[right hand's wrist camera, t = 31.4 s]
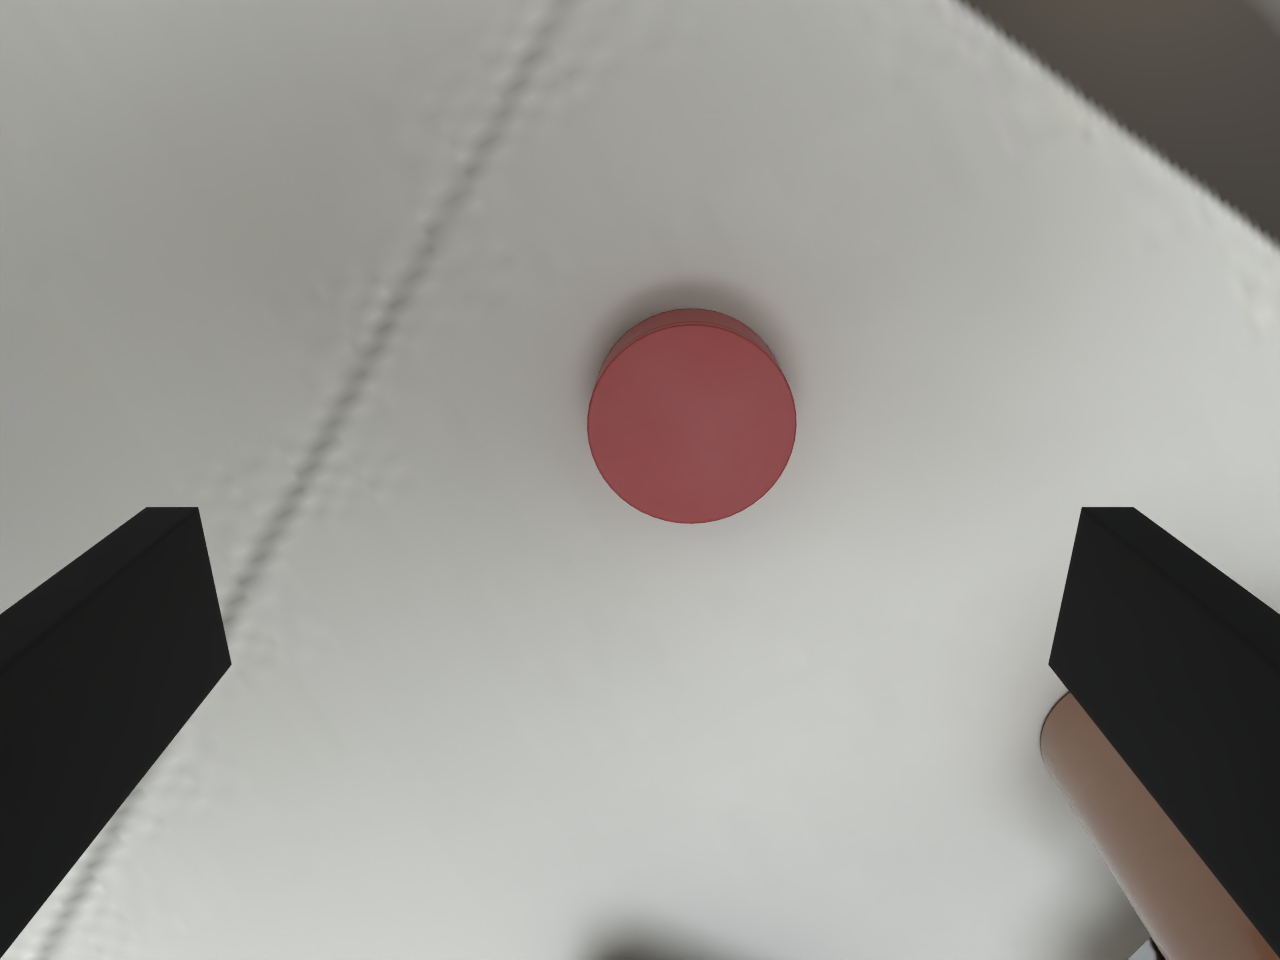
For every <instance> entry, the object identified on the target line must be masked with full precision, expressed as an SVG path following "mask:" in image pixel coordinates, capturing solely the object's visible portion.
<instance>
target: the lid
mask: <svg viewBox="0 0 1280 960" xmlns="http://www.w3.org/2000/svg"><path fill="white" fill-rule="evenodd" d="M587 431H588V440H589V445H590V449H591V453H592V456H593V458H594V461H595V463H596V466H597V468H598V470H599V471H600V473H601V475H602V477H603V478H604V480H605V481H606V482H607V483H608V485H609V486H610V487H611V489H612V490H613V491H614V492H615V493H616V494H617V495H618V496H619V497H620V498H622V499H623V500H624V501H626V502H627V503H628V504H629V505H631V506H633V507H634V508H636V509H638V510H639V511H641V512H643V513H645V514H648V515H650V516H652V517H655V518H658V519H662V520H665V521H670V522H676V523H689V524H693V523H706V522H711V521H716V520H720V519H723V518H726V517H729V516H732V515H734V514H736V513H738V512H740V511H742V510H744V509H746V508H747V507H749V506H751V505H752V504H754V503H755V502H756V501H757V500H759V499H760V498H761V497H762V496H764V495H765V494H766V493H767V492H768V491H769V489H770V488H771V487H772V486H773V485H774V484H775V482H776V481H777V480H778V478H779V477H780V476H781V474H782V472H783V470H784V469H785V467H786V465H787V463H788V460H789V458H790V455H791V453H792V449H793V445H794V441H795V434H796V411H795V405H794V400H793V396H792V393H791V390H790V387H789V385H788V383H787V381H786V379H785V377H784V375H783V373H782V371H781V369H780V367H779V365H778V363H777V361H776V359H775V357H774V355H773V354H772V352H771V351H770V349H769V348H768V346H767V345H766V344H765V343H764V341H763V340H762V339H761V338H760V337H759V336H758V335H757V334H756V333H755V332H753V331H752V330H751V329H750V328H749V327H747V326H746V325H744V324H743V323H741V322H740V321H738V320H736V319H734V318H731V317H729V316H727V315H724V314H721V313H718V312H715V311H709V310H704V309H679V310H673V311H668V312H664V313H661V314H658V315H655V316H652V317H650V318H648V319H646V320H644V321H642V322H641V323H639V324H638V325H636V326H635V327H633V328H632V329H630V330H629V331H628V332H627V333H626V334H625V335H624V336H623V337H621V338H620V339H619V341H618V342H617V343H616V344H615V345H614V347H613V348H612V349H611V351H610V352H609V354H608V356H607V357H606V359H605V361H604V363H603V365H602V367H601V370H600V372H599V375H598V378H597V382H596V385H595V388H594V391H593V394H592V397H591V401H590V404H589V410H588V418H587Z"/></svg>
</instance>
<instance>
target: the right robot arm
mask: <svg viewBox="0 0 1280 960" xmlns="http://www.w3.org/2000/svg"><path fill="white" fill-rule="evenodd" d="M231 665H232V664H231V659H230V655H229V650H228V645H227V641H226V636H225V631H224V627H223V622H222V617H221V612H220V608H219V603H218V598H217V594H216V589H215V584H214V580H213V575H212V570H211V565H210V561H209V556H208V551H207V547H206V542H205V537H204V532H203V528H202V523H201V518H200V514H199V509H198V507H146V508H145V509H143V510H142V511H141V512H139V513H138V514H137V515H135V516H134V517H132V518H131V519H130V520H128V521H127V522H126V523H124V524H123V525H122V526H120V527H119V528H117V529H116V530H115V531H113V532H112V533H111V534H109V535H108V536H107V537H105V538H104V539H103V540H101V541H100V542H98V543H97V544H96V545H94V546H93V547H92V548H90V549H89V550H88V551H86V552H85V553H83V554H82V555H81V556H79V557H78V558H77V559H75V560H74V561H73V562H71V563H70V564H68V565H67V566H66V567H64V568H63V569H62V570H60V571H59V572H58V573H56V574H55V575H53V576H52V577H51V578H49V579H48V580H47V581H45V582H44V583H43V584H41V585H40V586H38V587H37V588H36V589H34V590H33V591H32V592H30V593H29V594H28V595H26V596H25V597H23V598H22V599H21V600H19V601H18V602H17V603H15V604H14V605H13V606H11V607H10V608H8V609H7V610H6V611H4V612H3V613H2V614H0V958H1V957H2V956H3V955H4V953H5V952H6V951H7V949H8V948H9V947H10V946H11V944H12V943H13V942H14V941H15V939H16V938H17V937H18V935H19V934H20V933H21V932H22V930H23V929H24V928H25V927H26V925H27V924H28V923H29V921H30V920H31V919H32V918H33V916H34V915H35V914H36V913H37V911H38V910H39V909H40V907H41V906H42V905H43V904H44V902H45V901H46V900H47V899H48V897H49V896H50V895H51V893H52V892H53V891H54V890H55V888H56V887H57V886H58V885H59V883H60V882H61V881H62V879H63V878H64V877H65V876H66V874H67V873H68V872H69V871H70V869H71V868H72V867H73V866H74V864H75V863H76V862H77V860H78V859H79V858H80V857H81V855H82V854H83V853H84V852H85V850H86V849H87V848H88V846H89V845H90V844H91V843H92V841H93V840H94V839H95V838H96V836H97V835H98V834H99V832H100V831H101V830H102V829H103V827H104V826H105V825H106V824H107V822H108V821H109V820H110V818H111V817H112V816H113V815H114V813H115V812H116V811H117V810H118V808H119V807H120V806H121V804H122V803H123V802H124V801H125V799H126V798H127V797H128V796H129V794H130V793H131V792H132V790H133V789H134V788H135V787H136V785H137V784H138V783H139V782H140V780H141V779H142V778H143V777H144V775H145V774H146V773H147V771H148V770H149V769H150V768H151V766H152V765H153V764H154V763H155V761H156V760H157V759H158V757H159V756H160V755H161V754H162V752H163V751H164V750H165V749H166V747H167V746H168V745H169V743H170V742H171V741H172V740H173V738H174V737H175V736H176V735H177V733H178V732H179V731H180V729H181V728H182V727H183V726H184V724H185V723H186V722H187V721H188V719H189V718H190V717H191V715H192V714H193V713H194V712H195V710H196V709H197V708H198V707H199V705H200V704H201V703H202V701H203V700H204V699H205V698H206V696H207V695H208V694H209V693H210V691H211V690H212V689H213V688H214V686H215V685H216V684H217V682H218V681H219V680H220V679H221V677H222V676H223V675H224V674H225V672H226V671H227V670H228V668H229V667H230V666H231ZM1048 665H1049V666H1050V667H1051V668H1052V670H1053V671H1054V672H1055V674H1056V675H1057V676H1058V677H1059V679H1060V680H1061V681H1062V682H1063V684H1064V685H1065V686H1066V688H1067V689H1068V690H1069V691H1070V693H1071V694H1072V695H1073V696H1074V698H1075V699H1076V700H1077V701H1078V703H1079V704H1080V705H1081V707H1082V708H1083V709H1084V710H1085V712H1086V713H1087V714H1088V715H1089V717H1090V718H1091V719H1092V721H1093V722H1094V723H1095V724H1096V726H1097V727H1098V728H1099V729H1100V731H1101V732H1102V733H1103V735H1104V736H1105V737H1106V738H1107V740H1108V741H1109V742H1110V743H1111V745H1112V746H1113V747H1114V749H1115V750H1116V751H1117V752H1118V754H1119V755H1120V756H1121V757H1122V759H1123V760H1124V761H1125V763H1126V764H1127V765H1128V766H1129V768H1130V769H1131V770H1132V771H1133V773H1134V774H1135V775H1136V777H1137V778H1138V779H1139V780H1140V782H1141V783H1142V784H1143V785H1144V787H1145V788H1146V789H1147V790H1148V792H1149V793H1150V794H1151V796H1152V797H1153V798H1154V799H1155V801H1156V802H1157V803H1158V804H1159V806H1160V807H1161V808H1162V810H1163V811H1164V812H1165V813H1166V815H1167V816H1168V817H1169V818H1170V820H1171V821H1172V822H1173V824H1174V825H1175V826H1176V827H1177V829H1178V830H1179V831H1180V832H1181V834H1182V835H1183V836H1184V838H1185V839H1186V840H1187V841H1188V843H1189V844H1190V845H1191V846H1192V848H1193V849H1194V850H1195V852H1196V853H1197V854H1198V855H1199V857H1200V858H1201V859H1202V860H1203V862H1204V863H1205V864H1206V866H1207V867H1208V868H1209V869H1210V871H1211V872H1212V873H1213V874H1214V876H1215V877H1216V878H1217V880H1218V881H1219V882H1220V883H1221V885H1222V886H1223V887H1224V888H1225V890H1226V891H1227V892H1228V893H1229V895H1230V896H1231V897H1232V899H1233V900H1234V901H1235V902H1236V904H1237V905H1238V906H1239V907H1240V909H1241V910H1242V911H1243V913H1244V914H1245V915H1246V916H1247V918H1248V919H1249V920H1250V921H1251V923H1252V924H1253V925H1254V927H1255V928H1256V929H1257V930H1258V932H1259V933H1260V934H1261V935H1262V937H1263V938H1264V939H1265V941H1266V942H1267V943H1268V944H1269V946H1270V947H1271V948H1272V949H1273V951H1274V952H1275V953H1276V955H1277V956H1278V957H1279V958H1280V614H1278V613H1277V612H1276V611H1274V610H1273V609H1272V608H1270V607H1269V606H1267V605H1266V604H1265V603H1263V602H1262V601H1261V600H1259V599H1258V598H1257V597H1255V596H1254V595H1252V594H1251V593H1250V592H1248V591H1247V590H1246V589H1244V588H1243V587H1242V586H1240V585H1239V584H1237V583H1236V582H1235V581H1233V580H1232V579H1231V578H1229V577H1228V576H1227V575H1225V574H1224V573H1222V572H1221V571H1220V570H1218V569H1217V568H1216V567H1214V566H1213V565H1212V564H1210V563H1209V562H1207V561H1206V560H1205V559H1203V558H1202V557H1201V556H1199V555H1198V554H1197V553H1195V552H1194V551H1192V550H1191V549H1190V548H1188V547H1187V546H1186V545H1184V544H1183V543H1182V542H1180V541H1179V540H1177V539H1176V538H1175V537H1173V536H1172V535H1171V534H1169V533H1168V532H1167V531H1165V530H1164V529H1162V528H1161V527H1160V526H1158V525H1157V524H1156V523H1154V522H1153V521H1152V520H1150V519H1149V518H1148V517H1146V516H1145V515H1143V514H1142V513H1141V512H1139V511H1138V510H1137V509H1135V508H1134V507H1082V509H1081V514H1080V518H1079V523H1078V528H1077V532H1076V537H1075V542H1074V547H1073V551H1072V556H1071V561H1070V565H1069V570H1068V575H1067V579H1066V584H1065V589H1064V594H1063V598H1062V603H1061V608H1060V612H1059V617H1058V622H1057V627H1056V631H1055V636H1054V641H1053V645H1052V650H1051V655H1050V659H1049V664H1048Z"/></svg>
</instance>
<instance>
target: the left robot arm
mask: <svg viewBox="0 0 1280 960" xmlns="http://www.w3.org/2000/svg"><path fill="white" fill-rule="evenodd" d="M1128 960H1165V959H1164V957H1163V956H1162V954H1161V952H1160V951H1159V949H1158V947H1157V946H1156V944H1155V943H1154V941H1153V939H1152V938H1151V937H1150V938H1149V939H1148V940H1147V941H1146V942H1145V943H1144V944H1143V945H1142V946H1141V947H1140V948H1139V949H1138V950H1137V951H1136V952H1135V953H1134V954H1133V955H1132V956H1131V957H1130V958H1129V959H1128Z"/></svg>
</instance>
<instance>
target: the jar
mask: <svg viewBox="0 0 1280 960" xmlns="http://www.w3.org/2000/svg"><path fill="white" fill-rule="evenodd" d="M1041 753H1042V757H1043V760H1044V762H1045V765H1046V766H1047V768H1048V770H1049V771H1050V773H1051V775H1052V776H1053V778H1054V780H1055V781H1056V783H1057V784H1058V786H1059V788H1060V789H1061V791H1062V793H1063V794H1064V796H1065V797H1066V799H1067V801H1068V802H1069V804H1070V806H1071V807H1072V809H1073V810H1074V812H1075V814H1076V815H1077V817H1078V819H1079V820H1080V822H1081V824H1082V825H1083V827H1084V828H1085V830H1086V832H1087V833H1088V835H1089V837H1090V838H1091V840H1092V841H1093V843H1094V845H1095V846H1096V848H1097V850H1098V851H1099V853H1100V855H1101V856H1102V858H1103V859H1104V861H1105V863H1106V864H1107V866H1108V868H1109V869H1110V871H1111V872H1112V874H1113V876H1114V877H1115V879H1116V881H1117V882H1118V884H1119V885H1120V887H1121V889H1122V890H1123V892H1124V894H1125V895H1126V897H1127V899H1128V900H1129V902H1130V903H1131V905H1132V907H1133V908H1134V910H1135V912H1136V913H1137V915H1138V916H1139V918H1140V920H1141V921H1142V923H1143V925H1144V926H1145V928H1146V929H1147V931H1148V933H1149V934H1150V936H1151V938H1152V939H1153V941H1154V943H1155V944H1156V946H1157V947H1158V949H1159V951H1160V952H1161V954H1162V956H1163V957H1164V959H1165V960H1280V958H1279V957H1278V956H1277V955H1276V953H1275V952H1274V951H1273V949H1272V948H1271V947H1270V946H1269V944H1268V943H1267V942H1266V941H1265V939H1264V938H1263V937H1262V935H1261V934H1260V933H1259V932H1258V930H1257V929H1256V928H1255V927H1254V925H1253V924H1252V923H1251V921H1250V920H1249V919H1248V918H1247V916H1246V915H1245V914H1244V913H1243V911H1242V910H1241V909H1240V907H1239V906H1238V905H1237V904H1236V902H1235V901H1234V900H1233V899H1232V897H1231V896H1230V895H1229V893H1228V892H1227V891H1226V890H1225V888H1224V887H1223V886H1222V885H1221V883H1220V882H1219V881H1218V880H1217V878H1216V877H1215V876H1214V874H1213V873H1212V872H1211V871H1210V869H1209V868H1208V867H1207V866H1206V864H1205V863H1204V862H1203V860H1202V859H1201V858H1200V857H1199V855H1198V854H1197V853H1196V852H1195V850H1194V849H1193V848H1192V846H1191V845H1190V844H1189V843H1188V841H1187V840H1186V839H1185V838H1184V836H1183V835H1182V834H1181V832H1180V831H1179V830H1178V829H1177V827H1176V826H1175V825H1174V824H1173V822H1172V821H1171V820H1170V818H1169V817H1168V816H1167V815H1166V813H1165V812H1164V811H1163V810H1162V808H1161V807H1160V806H1159V804H1158V803H1157V802H1156V801H1155V799H1154V798H1153V797H1152V796H1151V794H1150V793H1149V792H1148V790H1147V789H1146V788H1145V787H1144V785H1143V784H1142V783H1141V782H1140V780H1139V779H1138V778H1137V777H1136V775H1135V774H1134V773H1133V771H1132V770H1131V769H1130V768H1129V766H1128V765H1127V764H1126V763H1125V761H1124V760H1123V759H1122V757H1121V756H1120V755H1119V754H1118V752H1117V751H1116V750H1115V749H1114V747H1113V746H1112V745H1111V743H1110V742H1109V741H1108V740H1107V738H1106V737H1105V736H1104V735H1103V733H1102V732H1101V731H1100V729H1099V728H1098V727H1097V726H1096V724H1095V723H1094V722H1093V721H1092V719H1091V718H1090V717H1089V715H1088V714H1087V713H1086V712H1085V710H1084V709H1083V708H1082V707H1081V705H1080V704H1079V703H1078V701H1077V700H1076V699H1075V698H1074V696H1073V695H1072V694H1071V693H1069V694H1067V695H1066V696H1065V697H1064V698H1063V699H1062V700H1061V701H1060V702H1059V703H1058V704H1057V705H1056V706H1055V707H1054V708H1053V710H1052V711H1051V713H1050V714H1049V716H1048V718H1047V720H1046V722H1045V724H1044V727H1043V730H1042V734H1041Z"/></svg>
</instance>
